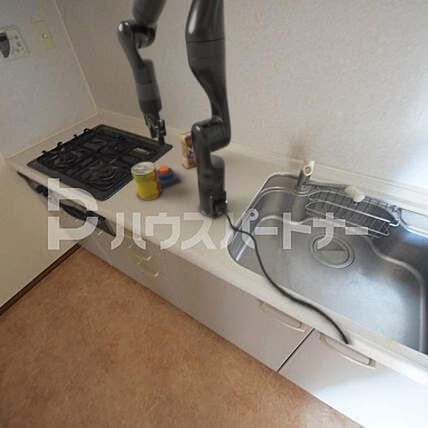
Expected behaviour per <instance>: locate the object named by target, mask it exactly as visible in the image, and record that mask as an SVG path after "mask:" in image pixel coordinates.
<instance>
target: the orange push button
mask: <svg viewBox="0 0 428 428" xmlns="http://www.w3.org/2000/svg"><path fill="white" fill-rule="evenodd" d="M156 171H157V175H158V179H159V183H160V188H161V189H165V188H167V187H170V186H172V185H174V184H177V183H180V177H179V176H178V174H176V173H175V172H174V170H173V169H172V167H169V173H168V174H166V175H161V174H160V171H159V168H158V169H156Z"/></svg>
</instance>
